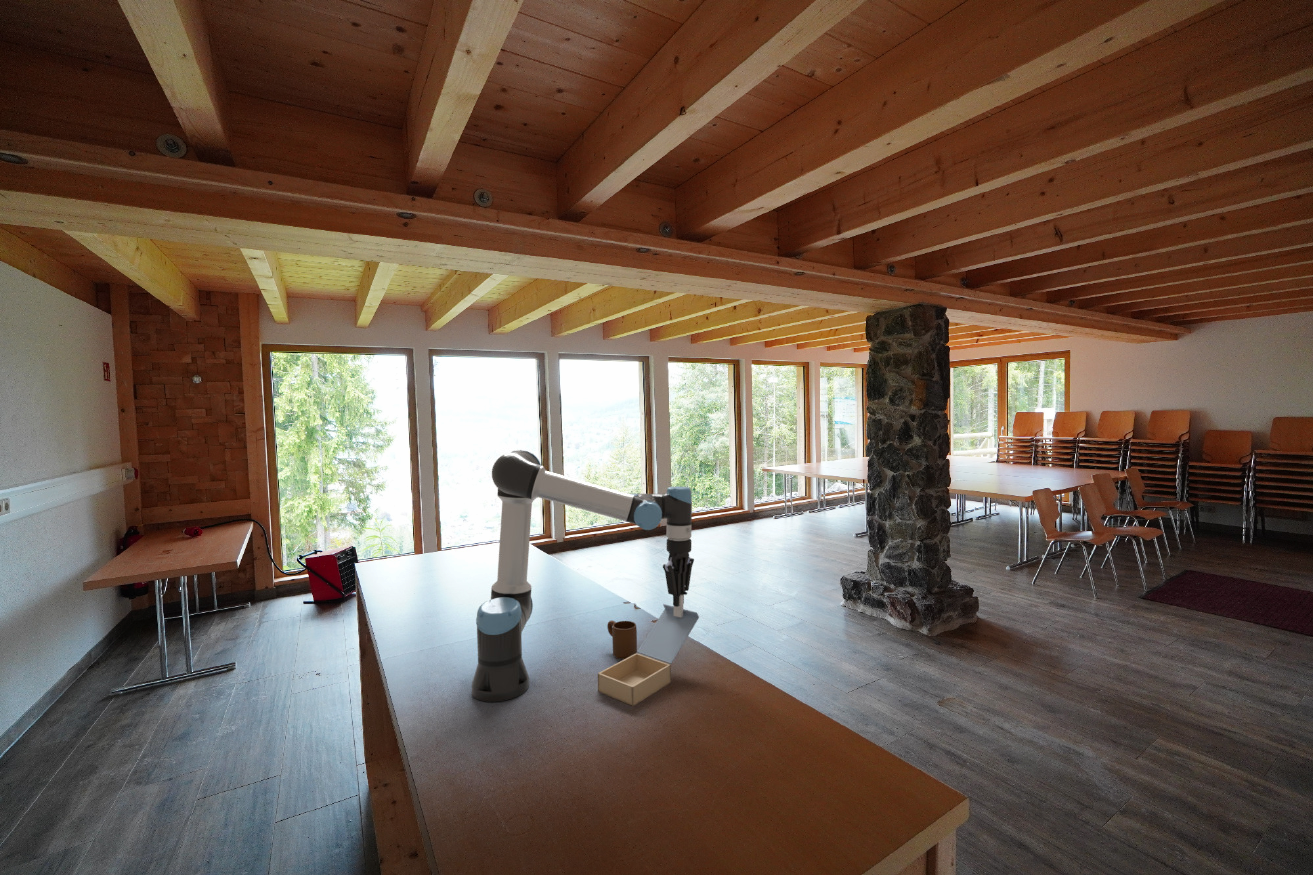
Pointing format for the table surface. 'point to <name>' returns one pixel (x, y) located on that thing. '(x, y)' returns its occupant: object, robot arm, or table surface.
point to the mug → (623, 638)
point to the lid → (668, 634)
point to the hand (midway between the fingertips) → (678, 616)
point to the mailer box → (634, 679)
